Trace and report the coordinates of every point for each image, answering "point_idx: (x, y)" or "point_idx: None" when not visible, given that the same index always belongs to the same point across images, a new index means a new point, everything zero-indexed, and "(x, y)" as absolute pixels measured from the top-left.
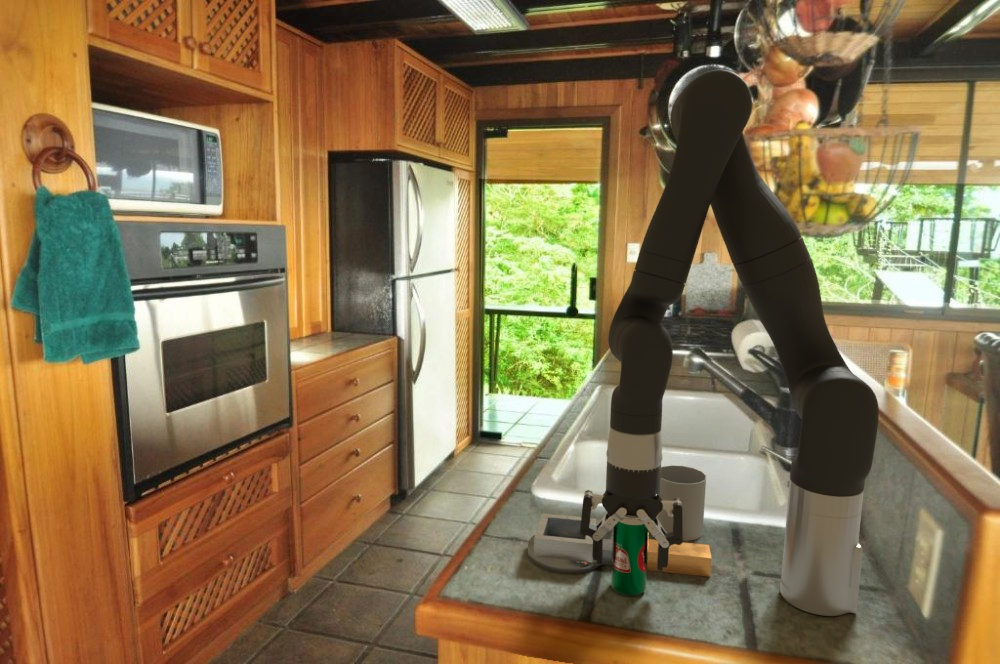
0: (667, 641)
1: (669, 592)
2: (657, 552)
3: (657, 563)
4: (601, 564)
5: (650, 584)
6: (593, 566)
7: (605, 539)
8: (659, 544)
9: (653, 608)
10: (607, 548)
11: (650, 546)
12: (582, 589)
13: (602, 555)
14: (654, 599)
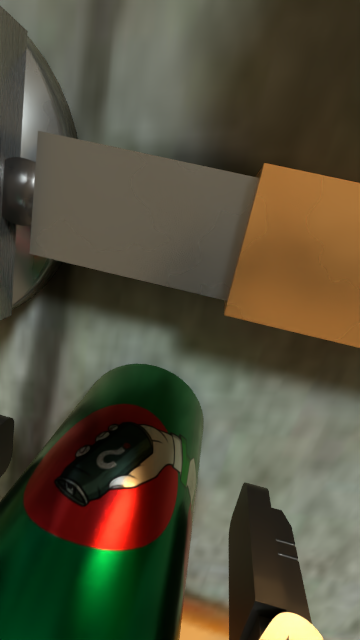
0: (200, 617)
1: (279, 440)
2: (295, 331)
3: (240, 505)
4: (7, 465)
5: (227, 392)
6: (32, 294)
7: (58, 139)
8: (246, 635)
9: (201, 508)
10: (63, 243)
11: (278, 264)
12: (6, 405)
13: (1, 432)
14: (216, 470)
